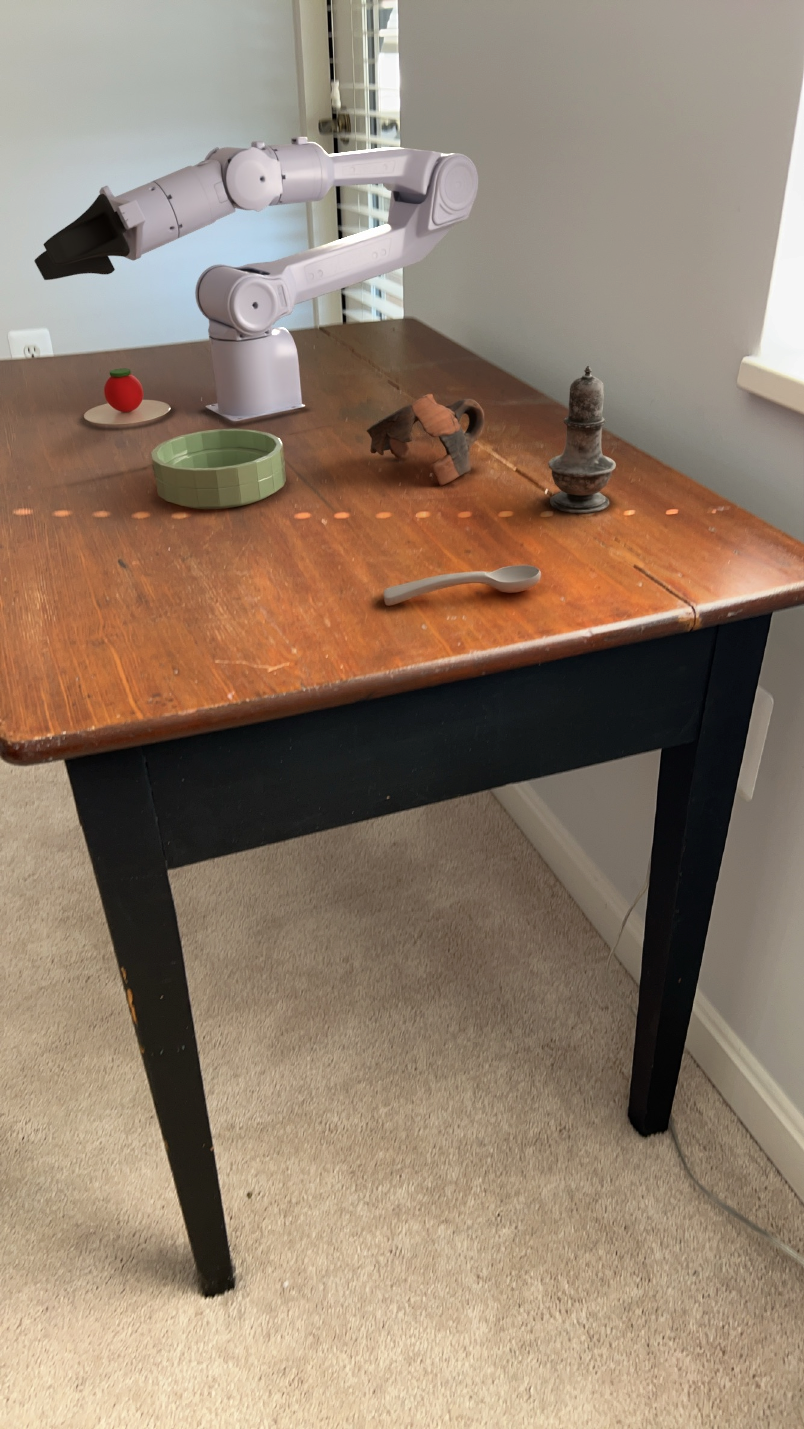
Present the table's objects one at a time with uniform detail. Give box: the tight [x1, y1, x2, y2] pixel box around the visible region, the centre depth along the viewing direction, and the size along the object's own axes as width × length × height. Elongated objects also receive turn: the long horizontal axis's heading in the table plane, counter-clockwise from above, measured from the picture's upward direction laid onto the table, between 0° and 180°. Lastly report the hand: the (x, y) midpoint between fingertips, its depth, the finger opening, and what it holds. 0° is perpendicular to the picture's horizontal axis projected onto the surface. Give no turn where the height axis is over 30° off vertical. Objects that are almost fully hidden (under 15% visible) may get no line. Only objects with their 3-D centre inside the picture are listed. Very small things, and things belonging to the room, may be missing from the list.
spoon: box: [382, 564, 542, 607], centre depth 76 cm, size 3×12×2 cm, turn 99°
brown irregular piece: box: [366, 393, 485, 486], centre depth 99 cm, size 12×10×8 cm
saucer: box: [83, 399, 171, 425], centre depth 119 cm, size 10×10×1 cm
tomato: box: [103, 367, 144, 412], centre depth 118 cm, size 4×4×5 cm
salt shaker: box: [547, 365, 617, 514], centre depth 88 cm, size 6×6×12 cm
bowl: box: [150, 428, 287, 510], centre depth 96 cm, size 12×12×4 cm
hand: (44, 262), depth 100 cm, fingers open, 7 cm apart
